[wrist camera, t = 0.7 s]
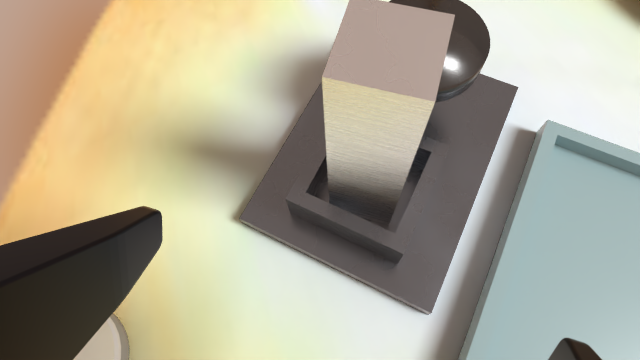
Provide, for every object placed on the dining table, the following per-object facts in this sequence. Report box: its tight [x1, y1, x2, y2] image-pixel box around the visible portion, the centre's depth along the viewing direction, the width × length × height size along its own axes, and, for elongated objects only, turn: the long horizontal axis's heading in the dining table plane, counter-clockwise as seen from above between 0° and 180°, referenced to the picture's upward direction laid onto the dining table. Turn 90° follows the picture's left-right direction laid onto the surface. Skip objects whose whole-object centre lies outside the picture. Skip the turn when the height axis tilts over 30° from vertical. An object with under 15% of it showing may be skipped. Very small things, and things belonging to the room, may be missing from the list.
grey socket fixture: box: [239, 0, 518, 315], centre depth 24 cm, size 16×12×7 cm
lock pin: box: [322, 0, 455, 225], centre depth 19 cm, size 4×4×12 cm
